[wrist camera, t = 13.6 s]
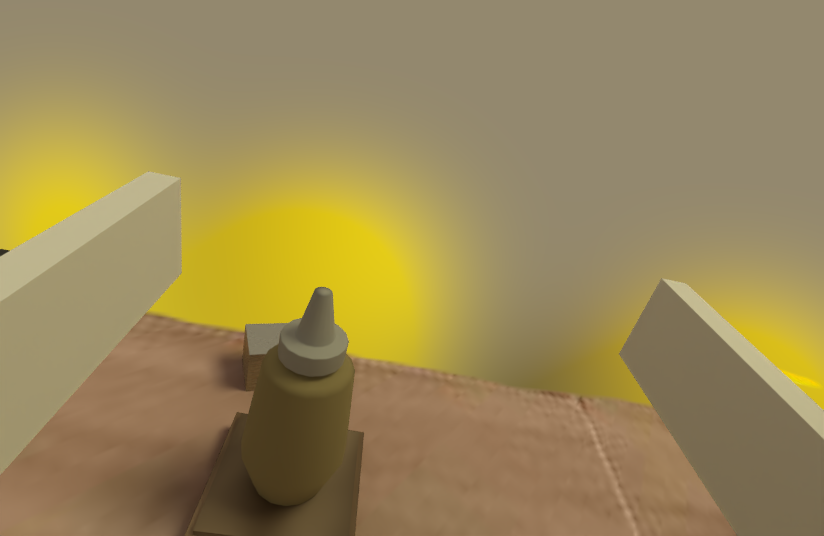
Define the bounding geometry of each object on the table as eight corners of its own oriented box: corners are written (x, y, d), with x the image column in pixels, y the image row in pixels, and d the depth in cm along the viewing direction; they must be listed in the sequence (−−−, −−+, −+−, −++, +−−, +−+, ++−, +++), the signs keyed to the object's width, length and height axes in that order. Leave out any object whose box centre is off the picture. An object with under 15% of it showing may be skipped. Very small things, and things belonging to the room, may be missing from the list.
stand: (359, 446, 45) (365, 428, 44) (347, 576, 34) (353, 557, 33) (235, 427, 43) (237, 408, 42) (181, 557, 32) (182, 536, 31)
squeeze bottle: (338, 438, 42) (380, 270, 34) (337, 523, 35) (389, 337, 27) (247, 431, 40) (268, 253, 32) (226, 520, 33) (246, 320, 25)
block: (287, 357, 53) (292, 323, 51) (294, 387, 49) (300, 352, 47) (242, 360, 51) (245, 324, 49) (245, 391, 47) (249, 354, 45)
